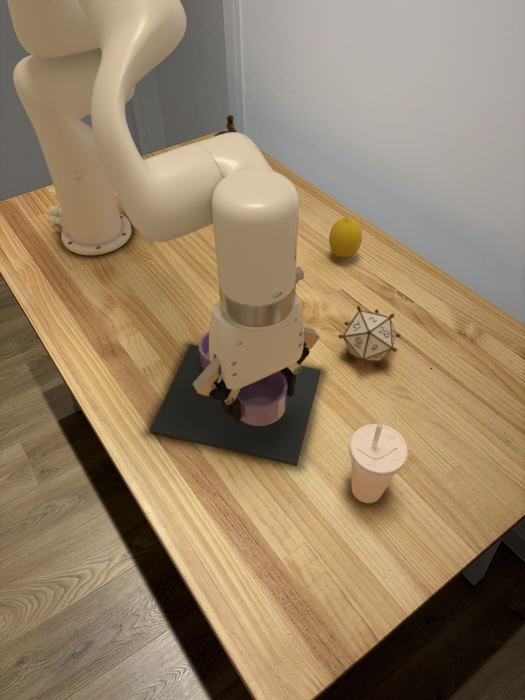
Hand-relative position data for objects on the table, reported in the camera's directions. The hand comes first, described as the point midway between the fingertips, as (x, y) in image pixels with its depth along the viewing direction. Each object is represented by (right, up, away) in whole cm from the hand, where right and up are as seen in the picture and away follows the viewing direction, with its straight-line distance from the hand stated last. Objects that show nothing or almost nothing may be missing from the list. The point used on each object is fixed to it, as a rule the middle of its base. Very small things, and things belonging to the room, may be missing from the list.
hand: (259, 400), depth 68 cm
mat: (-3, -1, +8) cm, 9 cm away
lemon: (+15, +23, +30) cm, 40 cm away
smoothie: (+13, -11, 0) cm, 17 cm away
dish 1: (-5, +5, +13) cm, 14 cm away
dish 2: (0, 0, +1) cm, 1 cm away
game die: (+16, +5, +14) cm, 22 cm away
